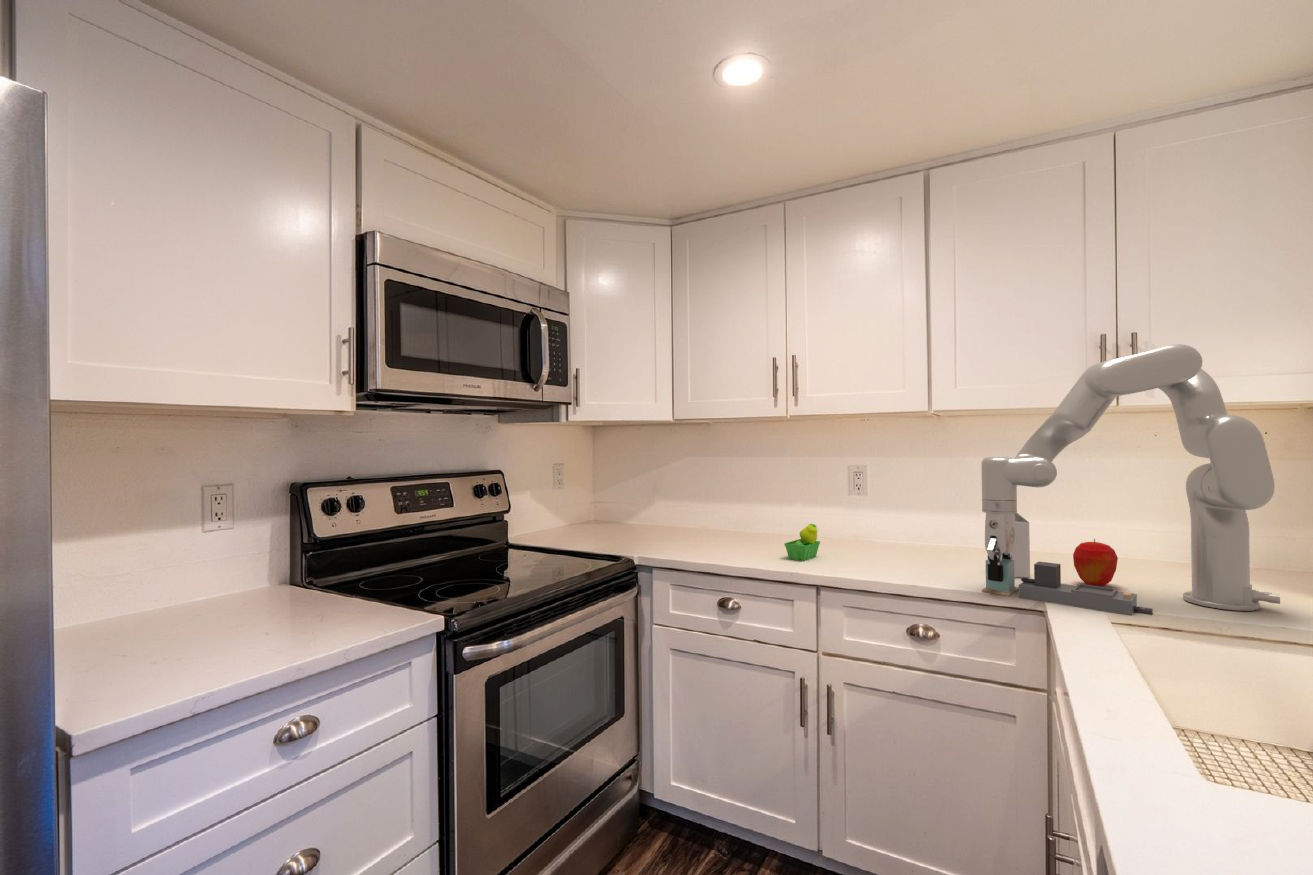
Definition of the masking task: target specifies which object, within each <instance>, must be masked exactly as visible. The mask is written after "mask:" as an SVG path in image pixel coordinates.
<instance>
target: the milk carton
mask: <svg viewBox="0 0 1313 875" xmlns="http://www.w3.org/2000/svg"><path fill="white" fill-rule="evenodd" d="M1015 521H1016V533H1017V550H1015V551H1014V552H1012V560H1014V575H1015V578H1030V577H1031V560H1030V559H1031V556H1030V554H1031V553H1030V552H1031V551H1030V549H1031V548H1030V544H1031V543H1030V522H1029V521H1028V520H1027V519H1026V518H1024V517H1023V516H1022V515H1020V514H1019V513H1018V512H1017V513H1016V514H1015ZM995 552H998V551H995ZM997 558H998V556H997Z"/></svg>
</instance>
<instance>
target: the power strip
mask: <svg viewBox="0 0 1313 875" xmlns="http://www.w3.org/2000/svg"><path fill="white" fill-rule="evenodd" d="M1033 565H1034V566H1033V569H1034V570H1033V576H1034V579H1033V578H1030V577H1020V580H1021V583H1020V584H1019V585H1018V587H1019V590H1018V598H1020V599H1025V600H1032V601H1038V602H1045V603H1051V604H1055V605H1056V604H1057V605H1061V606H1062V605H1063V606H1070V607H1076V608H1082V609H1090V610H1095V611H1101V612H1108V613H1115V614H1121V615H1127V616H1133V615H1134V613H1142V614H1147V615H1153V613H1154V611H1153V608H1151V607H1146V606H1145V607H1144V606H1140V605H1139V606H1138V605H1137V603H1138V602H1137V601H1138V598H1137V596H1138V594H1137V593H1134V592H1133V593H1131V592H1124V591H1119V590H1118V588H1114V587H1113V588H1112V587H1105V586H1102V587H1099V586H1092V585H1087V584H1085V583H1084V584H1083V583H1077V584H1076V585H1075V584H1067V583H1061V582H1062V581H1061V579H1062V578H1061V576H1062V574H1061V573H1062V572H1061V570H1062V569H1061V568H1062V566H1061V563H1054V562H1045V561H1038V562H1036V563H1034V564H1033Z"/></svg>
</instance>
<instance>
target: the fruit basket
mask: <svg viewBox="0 0 1313 875" xmlns="http://www.w3.org/2000/svg"><path fill="white" fill-rule="evenodd" d="M799 537H800V538H798V539H795V540H792V541H788V542H784V544H783V545H784V547H785V549H786V553H787V556H788V559H789V560H793V561H801V562H805V561H808V560H810V559H813V558H815V557H817V555H818V551H819V547H820V544H821V541H820V540H819V541H818V527H817V524H815V523H809V524H808V525H807V526H805V527H804V528H802V529H801V530H800V532H799Z"/></svg>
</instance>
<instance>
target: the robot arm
mask: <svg viewBox="0 0 1313 875" xmlns="http://www.w3.org/2000/svg"><path fill="white" fill-rule="evenodd" d="M1202 367H1203V357H1202V355H1201V353H1200V352H1199V351H1198V350H1197V349H1196V348H1194V347H1193V346H1190V345H1186V344H1182V343H1179V344H1178V343H1177V344H1170V345H1167V346H1163V347H1162V346H1161V347H1159V348H1155V349H1151V350H1147V351H1142V352H1140V353H1135V354H1131V355H1126V356H1122V357H1121V356H1120V357H1117V358H1112V359H1108V360H1105V361H1101V362H1097V363H1094V364H1093V365H1091V366H1088V368H1087V369H1086V370H1084V371H1083V373H1082V374H1081V376H1080V377H1079V378H1078V379H1077V381H1076V382H1075V384H1073V386H1072V388H1071V389H1070V390H1069V391H1068V393H1067V394H1066V396H1065V397H1064V398H1063V400H1062V401H1061V402H1060V403H1059V405H1058V406H1057V407H1056V408H1055V410H1054V411H1053V412H1052V414H1050V416H1049V417H1048V418H1046V420H1045V421H1044V422H1043V423H1042V424H1041V425H1040V426H1039V427H1038V428H1037V430H1036V431H1035V432H1033V434H1032V435H1031V436H1030V437H1029V439H1028V440H1026V442H1025V443H1024V444H1023V446H1022V447H1021V449H1020V450H1019V451H1018V453H1017V454H1016V455H1015V457H1014V458H1013V457H1009V456H987V457H984V458H983V459H982V461H981V512H982V513H985V520H984V523H985V524H984V549H985V552H986V553H987V560H988V580H991V581H998V582H1002V581H1003V565H1001V562H1002V559H1009V560H1012V552H1014V551H1015V550H1017V533H1016V521H1015V514H1016V513H1018V495H1017V494H1018V491H1017V490H1018V489H1017V487H1018V486H1019V487H1021V486H1022V487H1028V488H1044V487H1048V486H1049V485H1051V484H1052V483H1053V482H1054V481H1055V480H1056V478H1057V475H1058V472H1057V468H1056V466H1055V464H1054V463H1053V462H1054V459H1056V458H1057V456H1058V455H1059V454H1060V453H1061V452H1062V451H1063V450H1064V449H1065V448H1066V447H1068V446H1070V444H1072V443H1074V442H1076V441H1078V440H1079V439H1081V438H1083V437H1084V436H1086V435H1087V434H1088V433H1090V431H1091V430H1092V429H1093V428H1094V427H1095V425H1096V423H1097V422H1098V421H1099V420H1100V418H1101V417H1102V416H1103V415H1104V413H1105V412H1106V410H1108V408H1109V407H1110V406H1111V404H1112V403H1113V401H1115V400H1116V398H1117V397H1120V396H1126V395H1131V394H1137V393H1142V392H1146V391H1150V390H1154V389H1159V390H1160V391H1162V392H1163V393H1164V394H1165V396H1167V397H1168V399H1169V400H1170V402H1171V403H1170V404H1171V406H1172V408H1173V412H1174V415H1175V418H1176V422H1177V427H1178V431H1179V435H1180V440H1181V443H1182V446H1183V448H1184V449H1185V451H1186V452H1188V453H1189V454H1190V455H1193V456H1194V457H1199V458H1202V459H1203V458H1205V459H1209V461H1210V463H1205V464H1201V465H1199V466H1197V467H1195V468H1194V469H1193V470H1192V471H1190V472H1189V474H1188V476H1187V478H1186V481H1185V491H1186V497H1187V500H1188V502H1187V503H1188V506H1189V507H1188V508H1189V513H1190V541H1191V542H1190V546H1191V547H1190V551H1191V552H1190V556H1191V558H1190V559H1191V560H1190V561H1191V590H1190V591H1186V592H1183V593H1182V598H1183V599H1184V601H1186V602H1189V603H1191V604H1194V605H1199V606H1203V607H1207V608H1213V609H1220V610H1227V611H1240V612H1243V611H1244V612H1248V611H1249V612H1253V611H1258V610H1260V609H1261V602H1265V603H1269V604H1279V605H1280V604H1281V595H1280V594H1277V593H1276V594H1275V593H1272V592H1266V591H1259V590H1256V589H1253V584H1251V568H1250V567H1251V566H1250V561H1251V560H1250V556H1251V555H1250V524H1249V522H1250V521H1249V518H1248V514H1247V511H1251V510H1256V509H1260V508H1262V507H1264V506H1265V505H1268V503H1269V502H1270V501H1271V500H1272V498H1273V497H1274V496H1273V495H1274V493H1275V480H1274V474H1273V471H1272V467H1271V463H1270V459H1269V455H1268V451H1267V447H1266V443H1265V441H1264V437H1263V435H1262V433H1261V431H1260V430H1259V428H1258V427H1257V425H1255V423H1253V422H1252V421H1250V420H1249V419H1247V418H1245V417H1243V416H1240V415H1233V414H1228V411H1227V408H1226V405H1225V402H1224V400H1223V396H1222V393H1221V391H1220V388H1219V385H1218V384H1217V383H1216V381H1215V380H1214V378H1212V376H1211V375H1210V374H1209V373H1207V371H1206V370H1204V369H1202ZM995 551H998V552H995ZM997 556H998V558H997Z"/></svg>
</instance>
